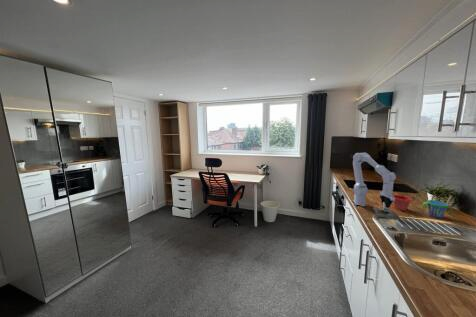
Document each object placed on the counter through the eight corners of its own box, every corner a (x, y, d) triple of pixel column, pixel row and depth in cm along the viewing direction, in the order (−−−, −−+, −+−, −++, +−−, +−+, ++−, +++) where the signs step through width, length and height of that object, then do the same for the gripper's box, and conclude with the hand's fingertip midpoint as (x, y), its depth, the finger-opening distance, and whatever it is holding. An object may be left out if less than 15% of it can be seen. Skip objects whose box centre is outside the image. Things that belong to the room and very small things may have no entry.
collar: (372, 210, 145) (372, 205, 144) (390, 212, 141) (391, 207, 141) (378, 217, 134) (379, 212, 133) (398, 219, 130) (399, 214, 129)
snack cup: (448, 215, 134) (450, 202, 133) (454, 221, 125) (456, 207, 124) (418, 210, 143) (420, 198, 141) (422, 216, 134) (424, 202, 133)
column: (380, 209, 139) (381, 201, 138) (387, 210, 138) (388, 202, 137) (383, 211, 136) (384, 203, 135) (389, 212, 135) (390, 204, 134)
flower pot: (406, 213, 139) (408, 200, 138) (389, 208, 148) (390, 196, 147) (411, 209, 145) (412, 197, 144) (393, 205, 154) (395, 193, 153)
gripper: (376, 185, 142) (374, 202, 144) (387, 191, 128) (385, 210, 130) (386, 186, 141) (384, 202, 143) (399, 192, 127) (396, 210, 129)
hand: (385, 206), depth 136 cm, fingers closed on column, 4 cm apart
